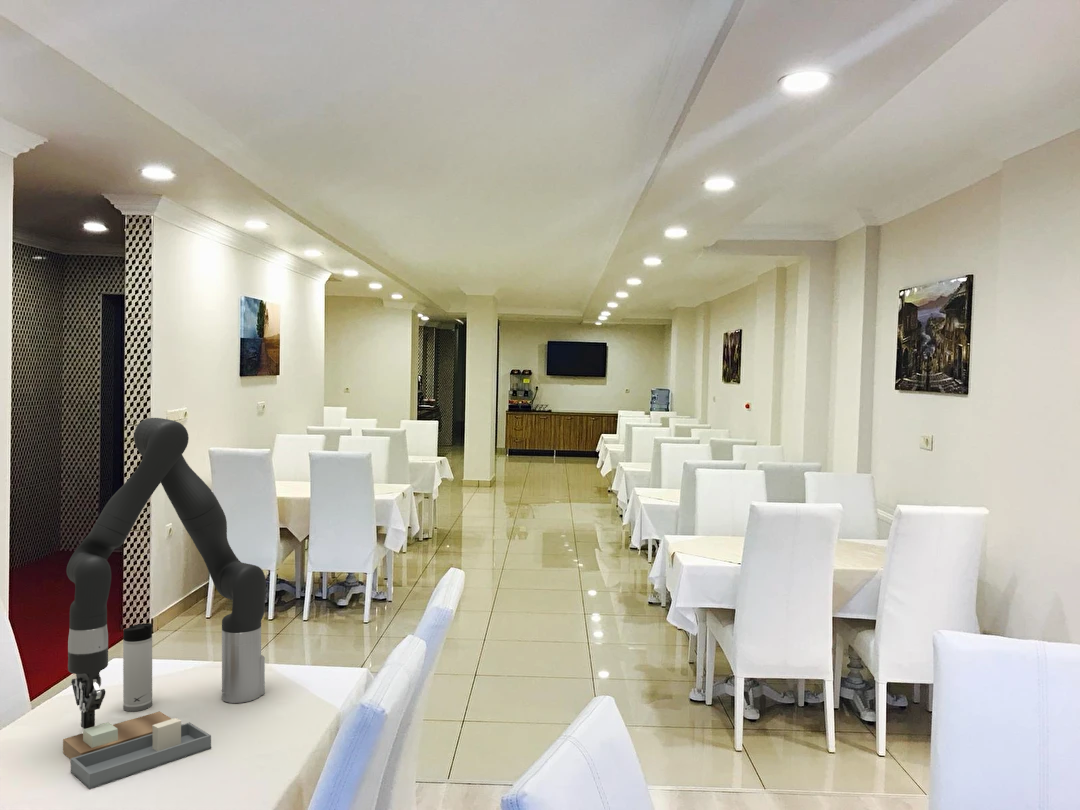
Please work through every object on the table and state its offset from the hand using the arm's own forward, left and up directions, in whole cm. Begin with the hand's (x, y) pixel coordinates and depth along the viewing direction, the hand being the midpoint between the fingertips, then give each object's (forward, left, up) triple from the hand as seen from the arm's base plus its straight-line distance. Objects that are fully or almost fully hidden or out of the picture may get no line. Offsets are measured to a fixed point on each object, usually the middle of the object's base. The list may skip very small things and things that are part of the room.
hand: (87, 727), depth 175 cm
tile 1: (0, +6, -1) cm, 6 cm away
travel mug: (-16, -14, -4) cm, 22 cm away
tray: (-5, +15, -4) cm, 17 cm away
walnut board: (-5, +5, -4) cm, 8 cm away
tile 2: (-11, +12, -1) cm, 16 cm away
